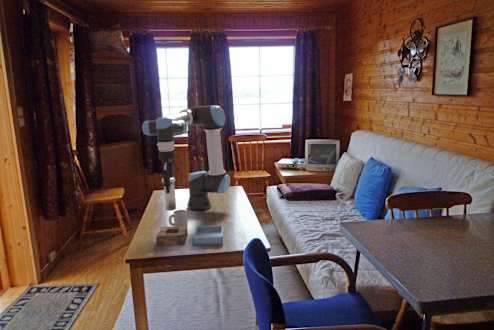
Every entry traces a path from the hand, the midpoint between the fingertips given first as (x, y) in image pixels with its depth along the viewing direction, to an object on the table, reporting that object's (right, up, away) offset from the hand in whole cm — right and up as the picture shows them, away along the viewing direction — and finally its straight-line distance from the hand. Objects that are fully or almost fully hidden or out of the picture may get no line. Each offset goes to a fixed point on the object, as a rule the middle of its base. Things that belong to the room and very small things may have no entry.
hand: (170, 197), depth 176 cm
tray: (+19, -21, +5) cm, 28 cm away
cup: (0, -19, +22) cm, 29 cm away
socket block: (+1, -22, +4) cm, 22 cm away
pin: (0, -6, +1) cm, 6 cm away
